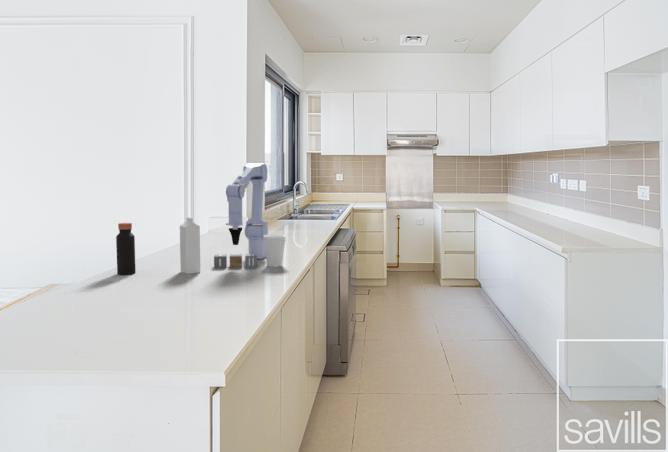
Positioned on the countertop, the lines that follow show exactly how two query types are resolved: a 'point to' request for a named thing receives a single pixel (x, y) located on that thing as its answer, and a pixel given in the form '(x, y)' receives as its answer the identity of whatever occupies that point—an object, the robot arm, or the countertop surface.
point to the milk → (190, 247)
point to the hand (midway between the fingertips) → (235, 244)
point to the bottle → (125, 250)
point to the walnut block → (236, 261)
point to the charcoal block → (220, 261)
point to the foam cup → (274, 249)
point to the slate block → (250, 260)
